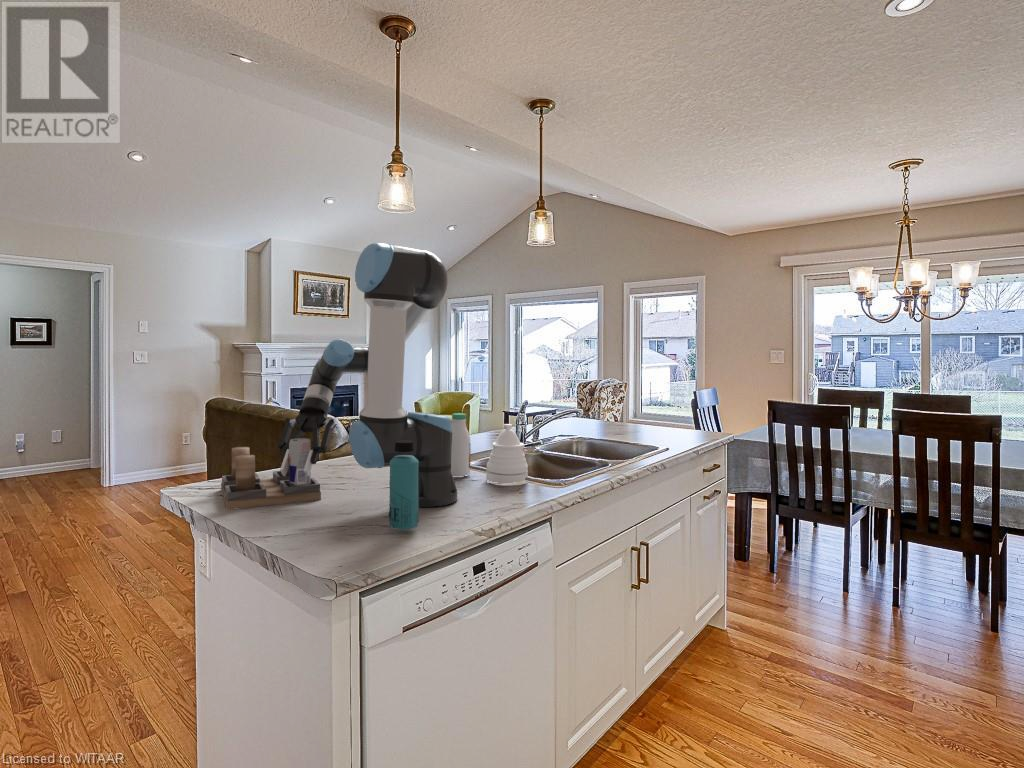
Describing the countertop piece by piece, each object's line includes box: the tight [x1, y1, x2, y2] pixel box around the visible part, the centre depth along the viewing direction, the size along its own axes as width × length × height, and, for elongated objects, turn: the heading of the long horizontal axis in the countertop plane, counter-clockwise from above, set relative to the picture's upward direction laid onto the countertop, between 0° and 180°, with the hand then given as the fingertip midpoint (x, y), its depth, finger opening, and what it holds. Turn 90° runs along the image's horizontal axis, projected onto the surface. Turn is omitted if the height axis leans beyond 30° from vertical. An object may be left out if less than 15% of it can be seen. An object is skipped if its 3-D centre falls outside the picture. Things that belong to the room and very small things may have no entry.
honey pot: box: [485, 423, 529, 483], centre depth 170 cm, size 13×13×18 cm
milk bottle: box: [451, 412, 472, 476], centre depth 176 cm, size 8×8×20 cm
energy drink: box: [289, 437, 312, 486], centre depth 145 cm, size 5×5×12 cm
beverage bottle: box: [388, 440, 420, 530], centre depth 119 cm, size 6×7×20 cm
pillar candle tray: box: [220, 446, 322, 510], centre depth 148 cm, size 22×22×12 cm
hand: (294, 473), depth 142 cm, fingers closed on energy drink, 5 cm apart
